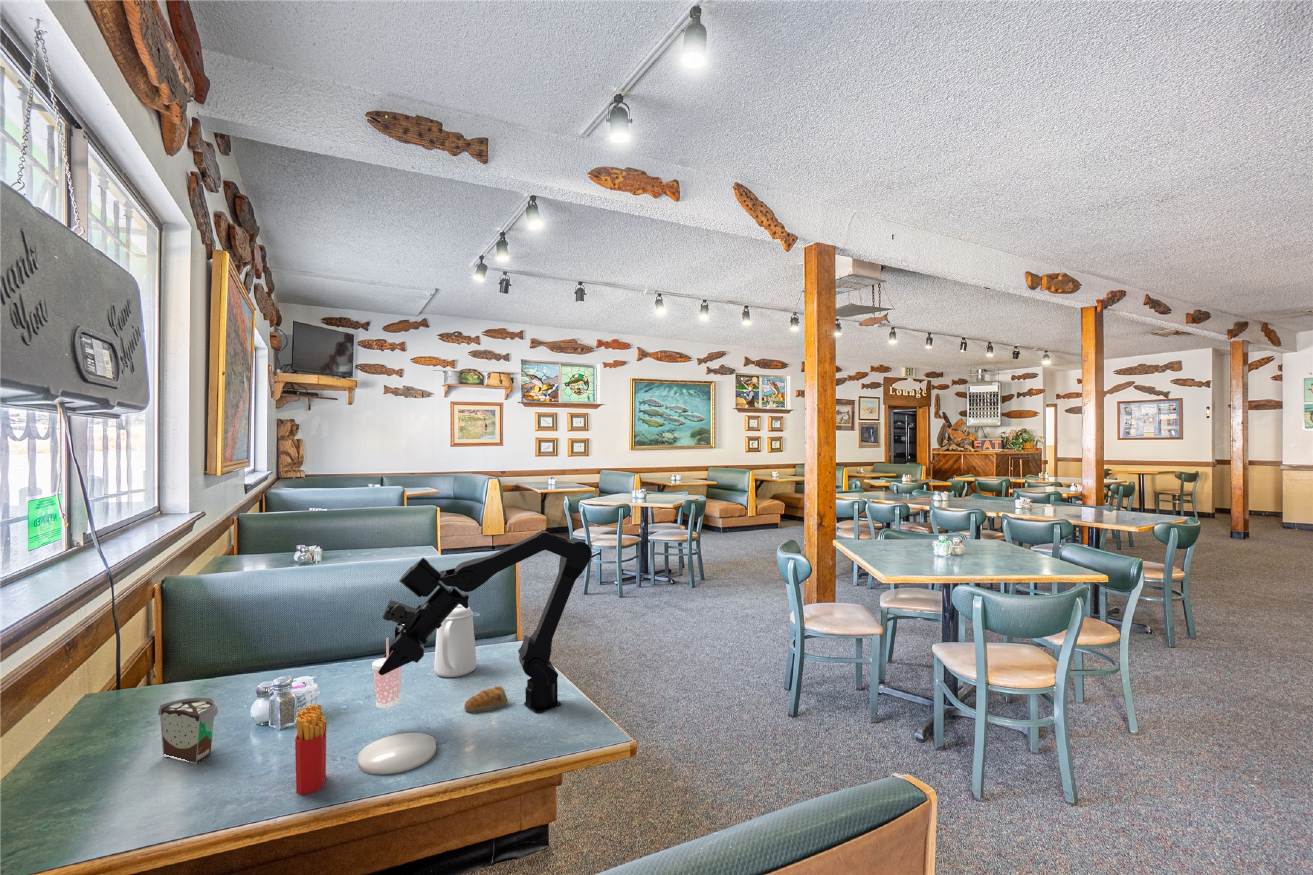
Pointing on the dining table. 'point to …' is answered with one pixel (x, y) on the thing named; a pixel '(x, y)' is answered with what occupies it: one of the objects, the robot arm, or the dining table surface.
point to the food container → (188, 728)
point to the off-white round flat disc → (397, 753)
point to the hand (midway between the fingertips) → (380, 668)
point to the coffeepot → (456, 644)
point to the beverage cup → (386, 683)
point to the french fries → (310, 750)
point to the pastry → (487, 700)
